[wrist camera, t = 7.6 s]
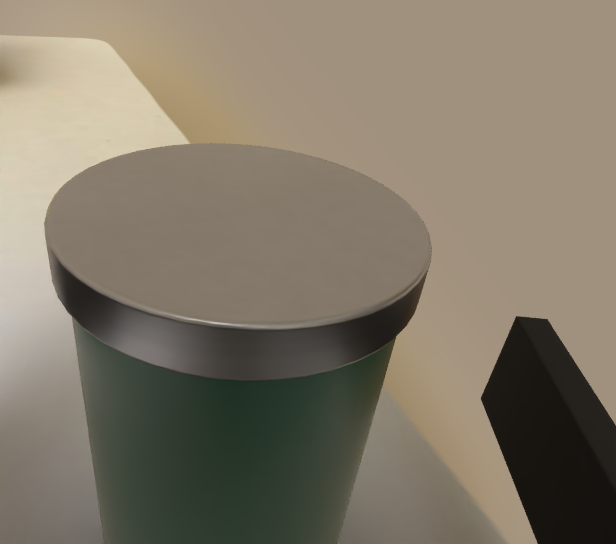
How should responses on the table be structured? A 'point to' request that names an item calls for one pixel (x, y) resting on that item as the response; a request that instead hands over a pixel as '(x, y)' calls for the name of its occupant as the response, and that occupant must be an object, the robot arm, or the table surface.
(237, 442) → the tin
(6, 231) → the table surface
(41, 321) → the table surface
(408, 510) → the table surface
